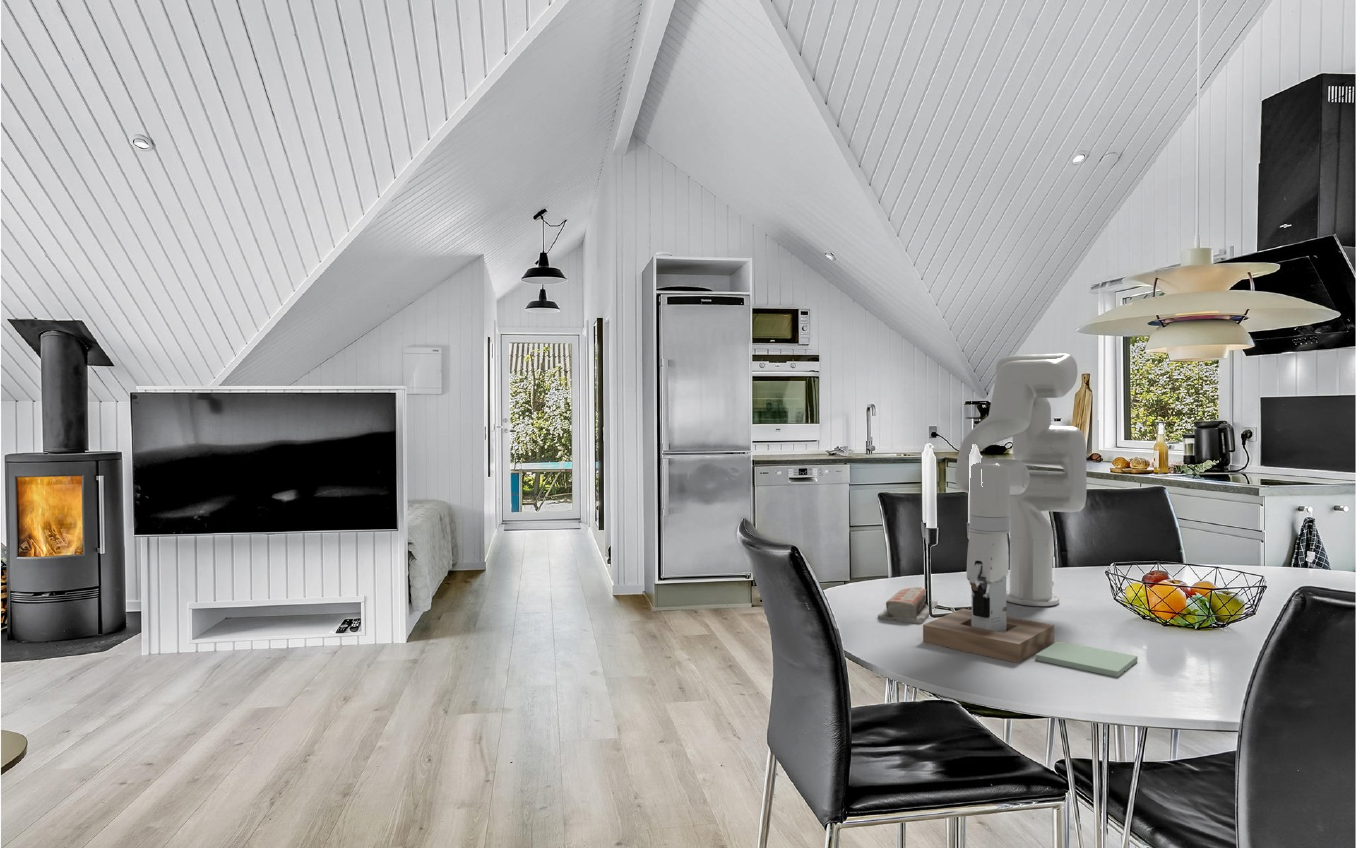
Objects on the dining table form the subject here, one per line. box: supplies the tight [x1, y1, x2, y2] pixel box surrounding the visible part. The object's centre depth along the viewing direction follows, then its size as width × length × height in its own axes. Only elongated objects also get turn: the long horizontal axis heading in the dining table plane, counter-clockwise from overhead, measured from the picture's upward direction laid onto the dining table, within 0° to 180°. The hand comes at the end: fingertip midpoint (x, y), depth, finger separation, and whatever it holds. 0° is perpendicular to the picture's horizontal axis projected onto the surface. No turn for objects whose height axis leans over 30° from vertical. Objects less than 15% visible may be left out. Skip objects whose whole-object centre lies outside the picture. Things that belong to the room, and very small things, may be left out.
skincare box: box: [971, 576, 1007, 633], centre depth 162 cm, size 6×4×12 cm
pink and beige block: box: [877, 587, 938, 624], centre depth 186 cm, size 18×5×10 cm
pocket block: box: [922, 608, 1055, 664], centre depth 162 cm, size 18×19×4 cm
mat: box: [1034, 640, 1139, 678], centre depth 150 cm, size 12×14×1 cm
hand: (989, 612), depth 162 cm, fingers closed on skincare box, 6 cm apart
